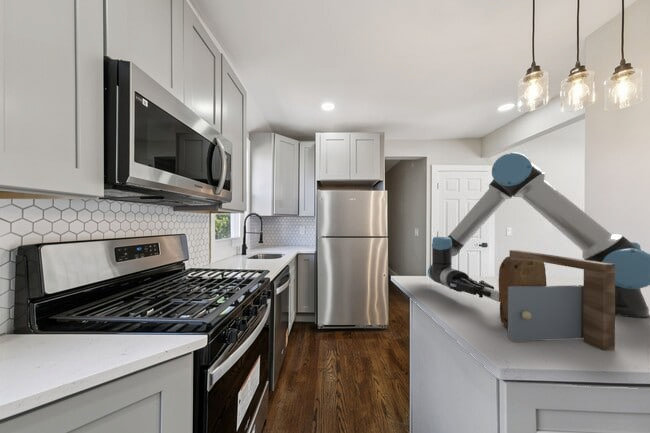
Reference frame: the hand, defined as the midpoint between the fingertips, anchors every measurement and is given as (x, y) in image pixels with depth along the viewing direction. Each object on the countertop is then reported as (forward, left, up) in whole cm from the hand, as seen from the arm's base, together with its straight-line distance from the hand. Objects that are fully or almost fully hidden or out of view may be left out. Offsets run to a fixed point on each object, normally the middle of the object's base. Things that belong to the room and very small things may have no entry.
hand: (501, 297), depth 82 cm
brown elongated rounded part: (0, +7, -7) cm, 10 cm away
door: (-2, +14, -7) cm, 16 cm away
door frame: (-12, +5, -7) cm, 15 cm away
